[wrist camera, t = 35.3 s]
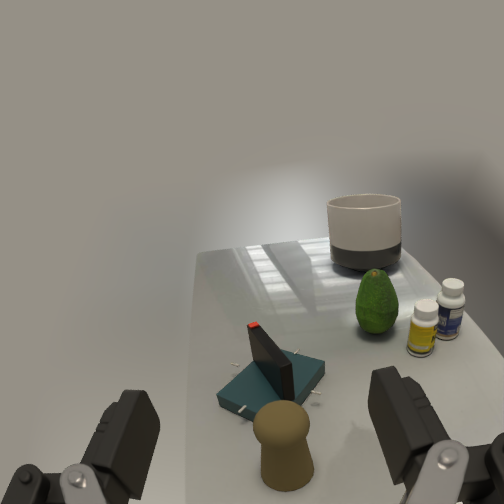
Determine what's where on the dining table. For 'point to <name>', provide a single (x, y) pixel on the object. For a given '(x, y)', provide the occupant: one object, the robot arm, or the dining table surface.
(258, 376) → the teal base plate
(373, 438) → the dining table surface
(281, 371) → the red-tipped black panel
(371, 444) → the dining table surface
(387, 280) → the avocado
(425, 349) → the supplement bottle
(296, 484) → the cork
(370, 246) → the planter
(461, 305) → the pill bottle
